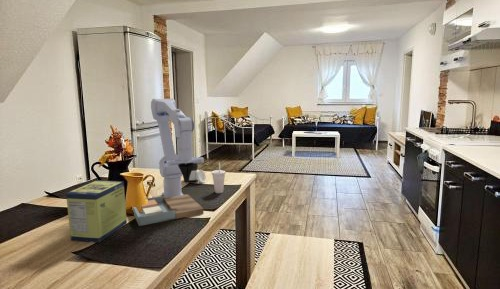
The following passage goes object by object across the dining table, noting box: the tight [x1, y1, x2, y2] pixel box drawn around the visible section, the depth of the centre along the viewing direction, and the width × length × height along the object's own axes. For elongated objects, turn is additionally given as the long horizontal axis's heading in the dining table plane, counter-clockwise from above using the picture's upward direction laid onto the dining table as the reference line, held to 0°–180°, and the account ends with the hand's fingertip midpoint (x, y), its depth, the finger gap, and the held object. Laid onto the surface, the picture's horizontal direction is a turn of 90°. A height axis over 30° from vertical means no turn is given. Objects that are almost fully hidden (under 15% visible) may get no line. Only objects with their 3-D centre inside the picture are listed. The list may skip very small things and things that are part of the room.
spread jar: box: [187, 163, 207, 184], centre depth 164 cm, size 12×11×12 cm
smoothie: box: [211, 162, 226, 194], centre depth 145 cm, size 6×6×14 cm
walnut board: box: [163, 193, 204, 220], centre depth 126 cm, size 20×10×2 cm, turn 28°
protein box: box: [65, 179, 128, 243], centre depth 104 cm, size 10×16×16 cm
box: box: [133, 195, 176, 227], centre depth 121 cm, size 20×13×3 cm, turn 28°
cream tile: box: [143, 206, 163, 216], centre depth 116 cm, size 6×6×2 cm
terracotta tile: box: [141, 200, 158, 213], centre depth 124 cm, size 6×6×2 cm
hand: (186, 181), depth 126 cm, fingers closed
